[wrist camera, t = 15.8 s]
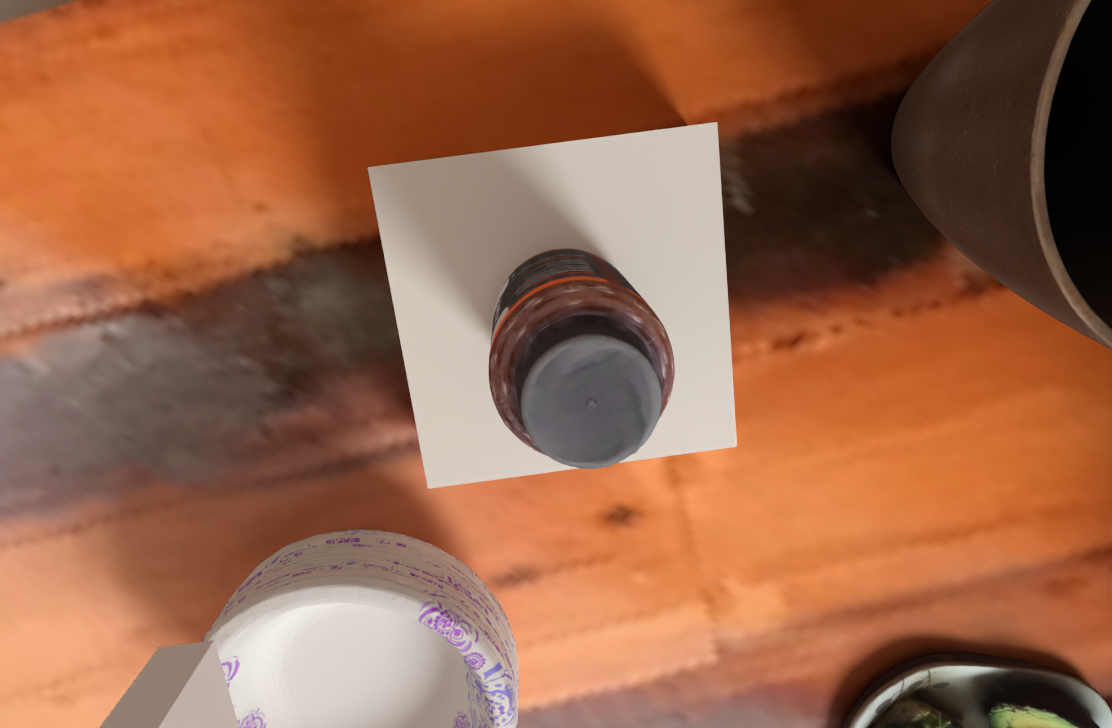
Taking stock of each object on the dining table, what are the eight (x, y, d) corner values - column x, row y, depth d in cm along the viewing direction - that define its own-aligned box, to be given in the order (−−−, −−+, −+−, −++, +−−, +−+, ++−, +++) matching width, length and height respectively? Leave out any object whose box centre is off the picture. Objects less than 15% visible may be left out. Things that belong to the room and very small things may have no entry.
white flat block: (689, 127, 34) (717, 122, 29) (709, 410, 38) (737, 446, 33) (388, 165, 34) (367, 167, 29) (439, 446, 38) (427, 488, 33)
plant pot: (918, 351, 38) (1194, 484, 22) (745, 119, 34) (931, 87, 19) (1171, 152, 36) (1669, 147, 20) (1015, -117, 32) (1472, -369, 17)
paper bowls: (182, 568, 39) (101, 668, 31) (443, 455, 38) (425, 530, 30) (322, 777, 43) (280, 911, 35) (561, 680, 42) (571, 796, 34)
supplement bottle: (464, 311, 31) (435, 395, 20) (570, 215, 30) (601, 248, 19) (558, 411, 32) (579, 539, 21) (662, 321, 31) (740, 409, 21)
